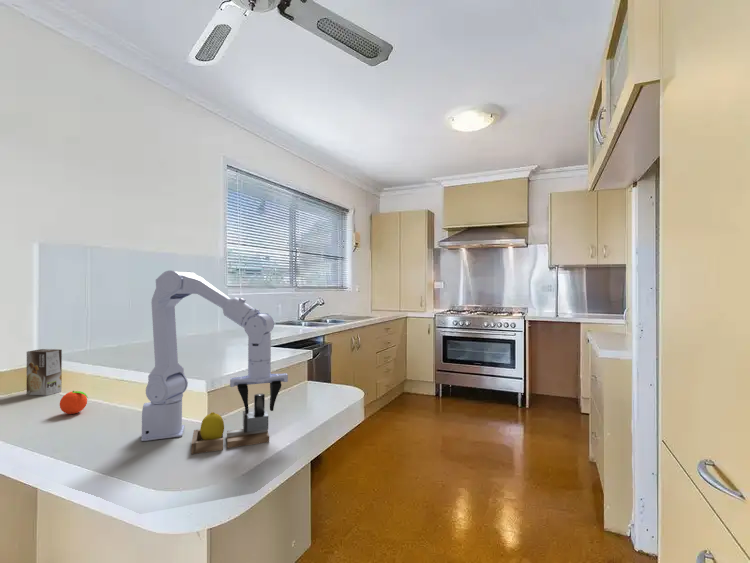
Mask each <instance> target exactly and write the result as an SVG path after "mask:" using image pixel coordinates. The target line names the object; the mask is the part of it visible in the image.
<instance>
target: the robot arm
mask: <svg viewBox="0 0 750 563" xmlns="http://www.w3.org/2000/svg"><path fill="white" fill-rule="evenodd" d="M153 292H154V293H153V295H152V298H151V302H150V303H151V319H152V335H153V349H154V350H153V351H154V367H153V368H152V370H151V371H150V373H149V374H148V377H147V378H148V381H147V384H146V388H145V396H146V398H147V400H148V401H149V402H144V403H143V406H142V409H141V410H142V411H141V440H140V442H147V441H154V440H163V439H170V438H178V437H180V438H181V437H183V435H184V430H185V424H183V396H184V393H185V391H186V390H187V388H188V383H189V381H188V378H187V377H186V375H185V372H184V370H185V369H184V367H183V366H182V365H181V364H180V363H179V360H178V359H179V357H178V341H177V340H178V339H177V327H176V326H177V324H176V306H177V305H178V303H180V302H181V301H182V300H183V299H184V298H187V297H188V296H190V295H192V294H193V295H199V296H200V297H202V298H204V299H205V300H207V301H208V302H211V303H213V304H214V305H215V306H217V307H219V308H221V309H222V313H223V315H224V316H225V317H227V318H228V319H230V320H231V321H233V322H234V323H236V325H239V326H240V327H241V328H243V329H244V331H245V333H246V335H247V336H248V340H247V341H248V342H247V345H248V347H247V348H248V349H247V350H248V351H247V352H248V354H247V375H242V376H236V377H235V376H234V377H230V378H229V387H231V388H233V387H236V386H237V391H238V393H239V395H240V396H241V399H242V403H243V405H244V411H245V413H246V414H248V412H250V411H249V387H248V386H249V385H250V386H251V385H259V384H260V385H261V384H269V392H270V393H269V394H270V395H269V410H270V412H274V408H275V403H276V400H277V397H278V395H279V392H280V390H281V389H282V383H288V382H289V379H288V378H289V375H288V373H285V372H284V373H272V372H271V371H272V367H271V364H272V362H271V361H272V360H271V359H272V358H271V356H272V354H271V353H272V349H271V347H272V343H271V341H272V340H271V339H272V337H271V335H272V334H271V332H272V330H273V329H274V326H275V322H274V319H273V317H272V316H271V315H270V314H269V313H268V312H261V310H260V309H259V308H255V307H253V306H251V304H248V303H247V302H246V299H245V298H243V297H232V298H231V297H229V296H228V295H227V294H225V293H224V292H222V291H221V290H219V289H218V288H216V287H215V286H214V285H212V284H211V283H210V282H208V281H207V280H205V278H203V277H202V276H200V275H197V274H196V273H195V272H193V271H175V270H166V271H164V272H162V273H161V274H160V275H159V276H158V277H157V278H156V279H155V290H154V291H153Z"/></svg>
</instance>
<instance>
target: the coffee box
mask: <svg viewBox="0 0 750 563" xmlns="http://www.w3.org/2000/svg"><path fill="white" fill-rule="evenodd" d="M62 353H63V351H62V349H56V348H54V349H52V348H42V349H40V348H39V349H34V350H28V351H26V395H27V396H50V395H53V394H57V393H61V392H62V391H63V390H62V388H63V387H62V385H63V384H62V375H63V374H62V370H63V369H62V368H63V367H62V366H63V362H62V361H63V360H62V357H63V354H62Z"/></svg>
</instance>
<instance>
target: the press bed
mask: <svg viewBox="0 0 750 563" xmlns="http://www.w3.org/2000/svg"><path fill="white" fill-rule="evenodd" d="M226 443H227V444H226V445H227V449H229V448H237V447H243V446H244V447H245V446H251V445H259V444H265V443H270V434H269V428H268V429H267V430H259V431H251V432H246V433H244V430H243V428H240V429H239V428H238V429H230V430H226Z"/></svg>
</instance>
